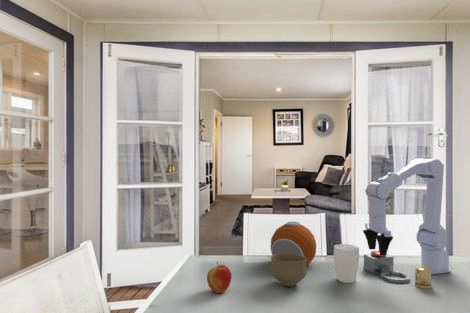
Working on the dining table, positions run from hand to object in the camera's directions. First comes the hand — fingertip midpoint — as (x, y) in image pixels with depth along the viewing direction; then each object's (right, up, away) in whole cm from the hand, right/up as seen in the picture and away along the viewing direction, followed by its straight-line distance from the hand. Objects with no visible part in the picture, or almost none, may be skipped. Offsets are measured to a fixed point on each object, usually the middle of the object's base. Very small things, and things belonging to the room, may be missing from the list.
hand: (377, 251), depth 131 cm
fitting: (+13, -10, -7) cm, 18 cm away
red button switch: (+5, -10, +5) cm, 12 cm away
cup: (-12, -10, -1) cm, 16 cm away
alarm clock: (-28, -10, +18) cm, 35 cm away
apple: (-58, -10, -12) cm, 60 cm away
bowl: (-33, -10, -5) cm, 35 cm away
